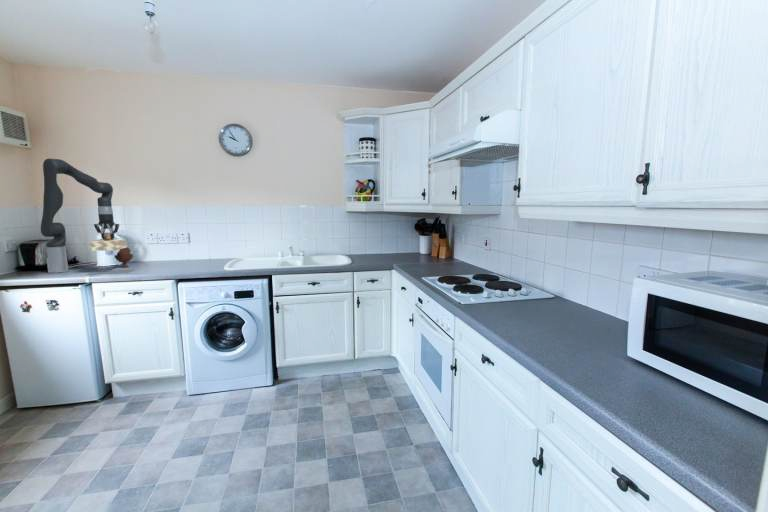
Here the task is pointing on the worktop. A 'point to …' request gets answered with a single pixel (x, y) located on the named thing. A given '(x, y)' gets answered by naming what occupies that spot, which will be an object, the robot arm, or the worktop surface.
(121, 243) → the lid
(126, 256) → the ice cream bowl
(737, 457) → the worktop surface
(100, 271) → the mat
